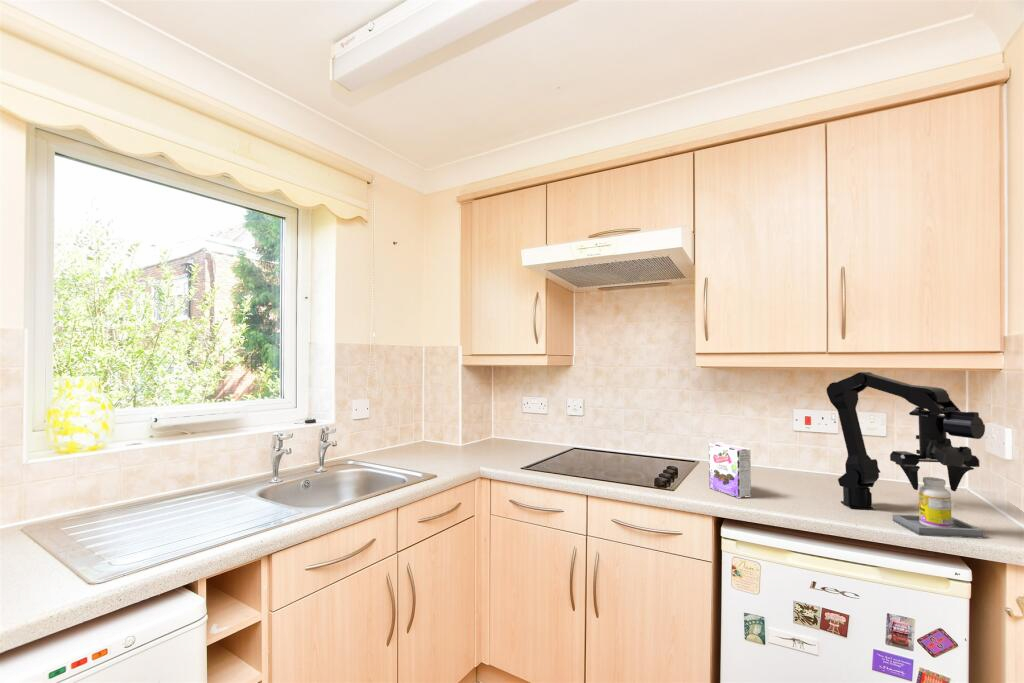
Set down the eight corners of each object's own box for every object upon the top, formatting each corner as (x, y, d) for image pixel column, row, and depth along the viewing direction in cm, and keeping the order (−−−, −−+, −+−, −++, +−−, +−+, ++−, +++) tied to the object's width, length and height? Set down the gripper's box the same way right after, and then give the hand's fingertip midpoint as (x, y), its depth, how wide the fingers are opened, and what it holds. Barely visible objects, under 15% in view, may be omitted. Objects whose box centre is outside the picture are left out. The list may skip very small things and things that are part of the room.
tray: (919, 535, 126) (919, 527, 126) (892, 521, 137) (892, 514, 137) (983, 538, 124) (983, 530, 124) (951, 523, 135) (951, 516, 135)
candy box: (708, 488, 172) (707, 442, 173) (721, 486, 175) (720, 441, 175) (738, 498, 160) (737, 449, 160) (752, 497, 162) (751, 448, 162)
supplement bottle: (918, 520, 135) (917, 474, 136) (950, 525, 131) (949, 478, 132) (919, 526, 130) (918, 479, 131) (952, 532, 126) (951, 483, 126)
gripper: (914, 437, 125) (916, 497, 124) (996, 438, 122) (998, 500, 122) (888, 430, 136) (889, 486, 135) (962, 432, 133) (964, 488, 133)
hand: (934, 490), depth 131 cm, fingers open, 9 cm apart
